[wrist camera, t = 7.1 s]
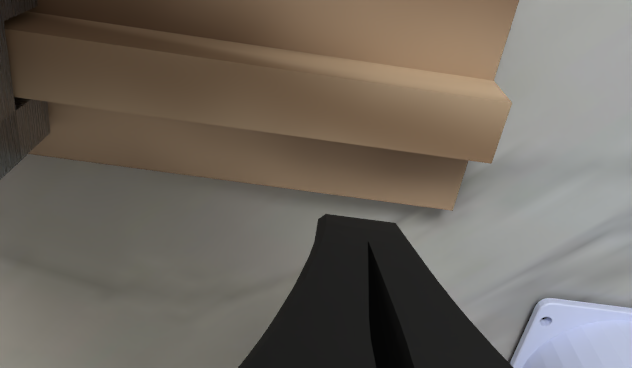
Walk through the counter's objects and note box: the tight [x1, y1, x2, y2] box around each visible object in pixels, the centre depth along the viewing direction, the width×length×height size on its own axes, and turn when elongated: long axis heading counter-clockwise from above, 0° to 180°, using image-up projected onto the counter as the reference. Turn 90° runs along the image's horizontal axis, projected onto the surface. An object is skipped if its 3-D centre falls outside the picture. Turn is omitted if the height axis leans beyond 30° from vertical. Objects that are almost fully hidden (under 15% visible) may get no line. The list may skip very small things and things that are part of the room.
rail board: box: [4, 0, 519, 211], centre depth 16 cm, size 8×20×5 cm, turn 82°
